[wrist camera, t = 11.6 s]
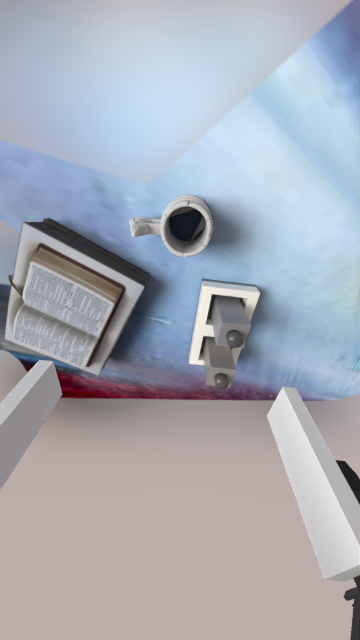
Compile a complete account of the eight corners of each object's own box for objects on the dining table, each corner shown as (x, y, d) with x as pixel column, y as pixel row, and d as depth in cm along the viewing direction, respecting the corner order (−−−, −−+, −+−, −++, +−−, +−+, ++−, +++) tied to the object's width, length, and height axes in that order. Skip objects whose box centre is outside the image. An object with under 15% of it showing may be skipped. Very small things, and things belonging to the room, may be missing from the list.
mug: (208, 247, 36) (216, 268, 25) (140, 244, 36) (119, 264, 26) (213, 195, 32) (224, 195, 21) (136, 192, 32) (111, 191, 22)
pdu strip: (254, 285, 39) (261, 294, 35) (231, 357, 48) (235, 371, 44) (201, 278, 38) (203, 287, 35) (189, 352, 48) (189, 366, 44)
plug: (238, 296, 39) (254, 331, 29) (232, 316, 41) (245, 355, 31) (215, 294, 39) (223, 327, 29) (210, 314, 41) (217, 352, 31)
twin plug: (227, 335, 44) (238, 376, 34) (222, 351, 46) (231, 394, 36) (206, 333, 44) (211, 373, 34) (203, 349, 46) (206, 391, 36)
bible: (4, 308, 44) (-39, 335, 36) (56, 197, 33) (10, 198, 24) (100, 364, 51) (82, 397, 43) (169, 288, 40) (164, 313, 32)
